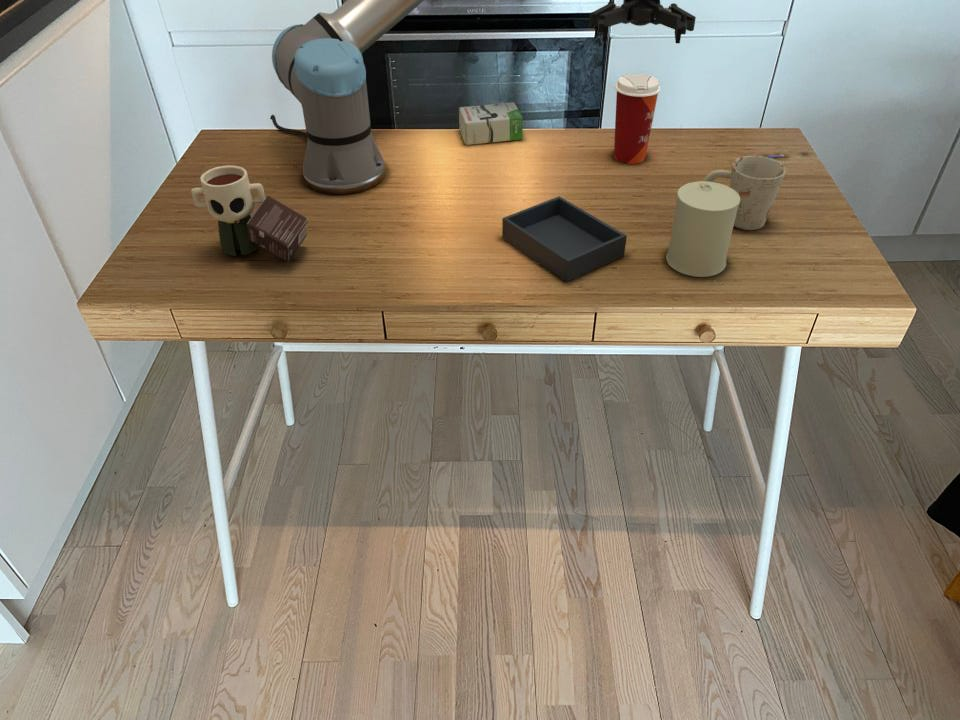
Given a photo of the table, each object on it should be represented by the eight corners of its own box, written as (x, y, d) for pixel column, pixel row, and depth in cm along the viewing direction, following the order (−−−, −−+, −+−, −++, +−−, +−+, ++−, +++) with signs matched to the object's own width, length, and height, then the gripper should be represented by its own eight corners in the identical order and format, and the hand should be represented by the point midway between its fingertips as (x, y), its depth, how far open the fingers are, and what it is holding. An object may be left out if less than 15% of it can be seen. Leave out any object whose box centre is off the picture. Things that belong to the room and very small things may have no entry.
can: (719, 245, 125) (733, 178, 118) (731, 277, 118) (748, 207, 111) (662, 245, 126) (672, 177, 118) (671, 277, 119) (683, 207, 111)
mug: (769, 237, 127) (784, 182, 121) (692, 225, 130) (702, 170, 124) (773, 213, 133) (787, 159, 127) (699, 202, 136) (709, 149, 130)
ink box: (523, 116, 153) (464, 123, 152) (523, 140, 157) (465, 146, 155) (513, 100, 160) (457, 106, 159) (513, 123, 163) (458, 129, 162)
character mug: (204, 263, 123) (183, 189, 115) (210, 239, 128) (190, 167, 120) (274, 257, 124) (258, 183, 116) (276, 234, 129) (261, 162, 121)
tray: (502, 238, 128) (502, 218, 126) (558, 215, 133) (559, 195, 131) (566, 282, 118) (568, 261, 115) (624, 256, 123) (626, 235, 121)
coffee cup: (653, 166, 147) (665, 88, 137) (610, 166, 147) (618, 88, 138) (647, 147, 154) (657, 71, 144) (606, 147, 154) (613, 72, 144)
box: (288, 263, 124) (248, 240, 123) (308, 234, 126) (268, 211, 125) (288, 247, 118) (245, 223, 117) (309, 217, 120) (267, 194, 119)
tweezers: (802, 151, 151) (801, 155, 151) (746, 155, 149) (745, 159, 149) (807, 152, 149) (807, 157, 150) (750, 156, 147) (750, 160, 148)
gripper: (699, 22, 162) (706, 57, 146) (580, 18, 165) (573, 52, 149) (706, -16, 157) (713, 15, 141) (582, -20, 160) (576, 11, 144)
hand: (641, 34), depth 145 cm, fingers open, 13 cm apart
